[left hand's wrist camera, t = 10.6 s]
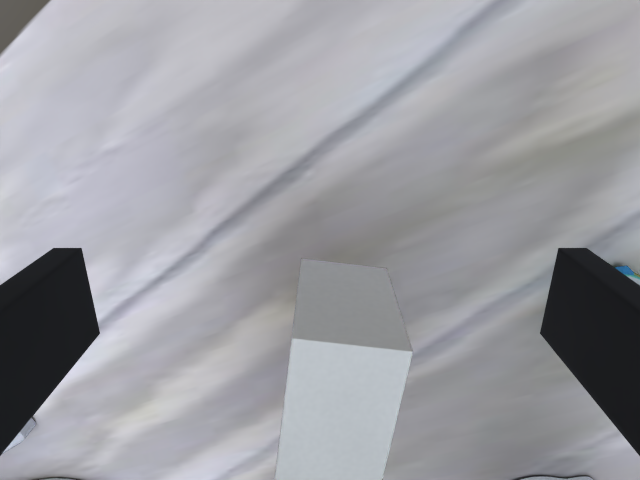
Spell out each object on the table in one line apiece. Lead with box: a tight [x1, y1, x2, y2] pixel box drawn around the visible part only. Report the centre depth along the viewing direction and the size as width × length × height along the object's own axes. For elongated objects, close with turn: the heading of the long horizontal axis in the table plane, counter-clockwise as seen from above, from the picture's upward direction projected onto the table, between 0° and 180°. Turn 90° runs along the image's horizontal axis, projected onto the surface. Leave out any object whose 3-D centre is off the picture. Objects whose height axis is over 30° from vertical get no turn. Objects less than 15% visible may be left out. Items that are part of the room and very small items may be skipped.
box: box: [275, 258, 413, 480], centre depth 32 cm, size 23×6×10 cm, turn 173°
